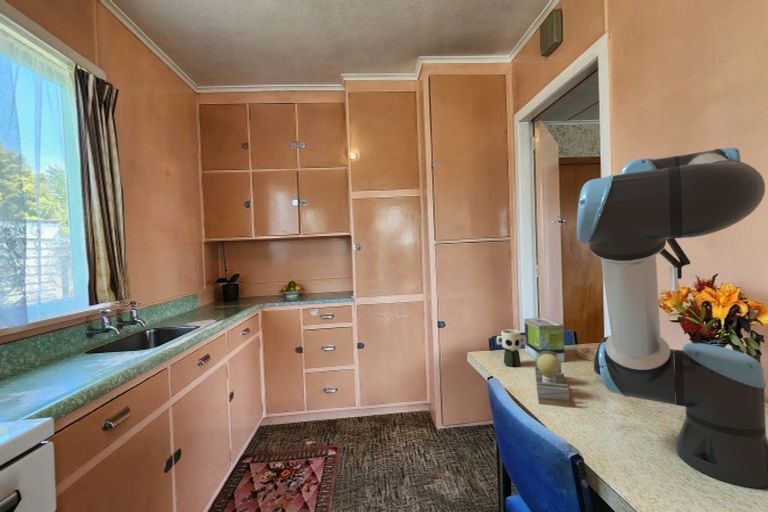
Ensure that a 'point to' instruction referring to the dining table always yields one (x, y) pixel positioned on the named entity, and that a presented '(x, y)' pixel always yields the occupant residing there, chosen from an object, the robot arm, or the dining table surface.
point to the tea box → (544, 337)
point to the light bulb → (548, 367)
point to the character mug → (511, 346)
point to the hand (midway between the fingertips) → (644, 291)
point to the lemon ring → (584, 355)
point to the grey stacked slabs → (552, 387)
